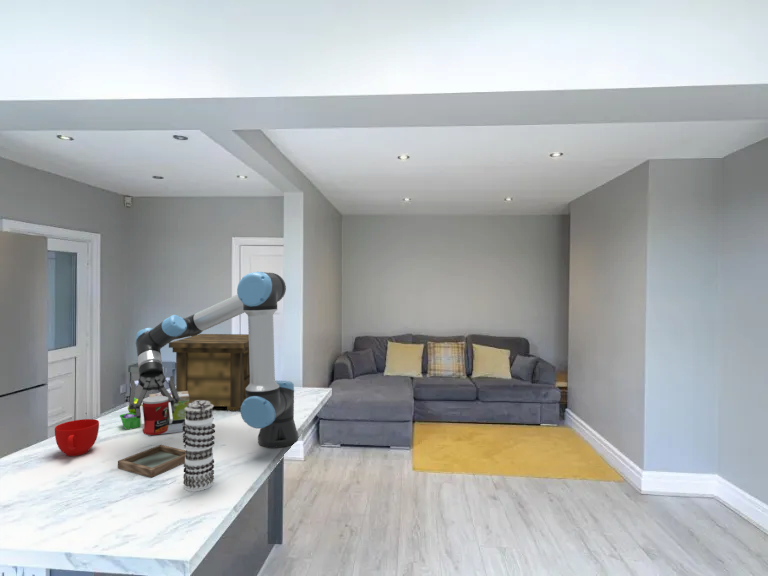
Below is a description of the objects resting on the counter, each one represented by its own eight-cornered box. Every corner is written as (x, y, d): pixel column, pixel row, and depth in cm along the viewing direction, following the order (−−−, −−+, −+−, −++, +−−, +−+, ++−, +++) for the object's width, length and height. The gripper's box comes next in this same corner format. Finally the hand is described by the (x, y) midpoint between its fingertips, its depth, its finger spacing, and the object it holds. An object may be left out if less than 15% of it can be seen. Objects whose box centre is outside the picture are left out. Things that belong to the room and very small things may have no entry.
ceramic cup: (46, 466, 144) (46, 436, 144) (60, 448, 160) (60, 421, 160) (92, 460, 149) (92, 431, 149) (102, 443, 165) (102, 417, 165)
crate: (200, 393, 240) (201, 333, 239) (264, 394, 239) (265, 334, 239) (168, 412, 205) (168, 342, 204) (243, 413, 204) (243, 343, 204)
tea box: (147, 437, 173) (147, 399, 173) (148, 429, 182) (148, 393, 182) (189, 431, 180) (189, 395, 180) (187, 424, 189) (187, 389, 188)
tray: (193, 459, 151) (193, 452, 151) (151, 477, 137) (151, 470, 137) (160, 451, 158) (160, 444, 158) (117, 468, 144) (117, 460, 144)
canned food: (157, 436, 143) (158, 402, 143) (136, 434, 145) (136, 400, 144) (173, 428, 150) (173, 396, 150) (153, 426, 152) (153, 395, 152)
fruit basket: (123, 431, 179) (123, 403, 179) (118, 425, 186) (118, 399, 185) (153, 425, 186) (154, 399, 186) (148, 420, 193) (148, 394, 193)
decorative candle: (179, 482, 134) (179, 400, 133) (211, 475, 139) (211, 396, 139) (185, 494, 126) (185, 408, 126) (218, 486, 131) (219, 403, 131)
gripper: (180, 369, 166) (188, 423, 153) (116, 375, 154) (120, 435, 141) (183, 357, 161) (192, 412, 148) (117, 363, 149) (121, 423, 136)
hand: (157, 423), depth 145 cm, fingers closed on canned food, 8 cm apart
